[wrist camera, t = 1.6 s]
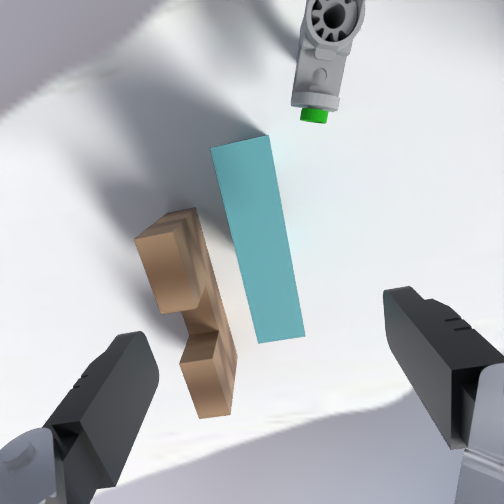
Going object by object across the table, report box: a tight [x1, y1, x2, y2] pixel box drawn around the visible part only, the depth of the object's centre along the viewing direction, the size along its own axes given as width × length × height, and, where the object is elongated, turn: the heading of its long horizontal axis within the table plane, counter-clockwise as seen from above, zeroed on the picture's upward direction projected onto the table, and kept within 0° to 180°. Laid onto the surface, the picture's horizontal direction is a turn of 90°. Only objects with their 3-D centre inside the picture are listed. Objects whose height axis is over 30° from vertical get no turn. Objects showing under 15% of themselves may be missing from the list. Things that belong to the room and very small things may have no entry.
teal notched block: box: [210, 135, 305, 344], centre depth 23 cm, size 12×3×13 cm, turn 12°
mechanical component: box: [291, 0, 365, 123], centre depth 20 cm, size 3×10×10 cm, turn 173°
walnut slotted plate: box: [134, 208, 237, 419], centre depth 29 cm, size 18×3×8 cm, turn 12°
